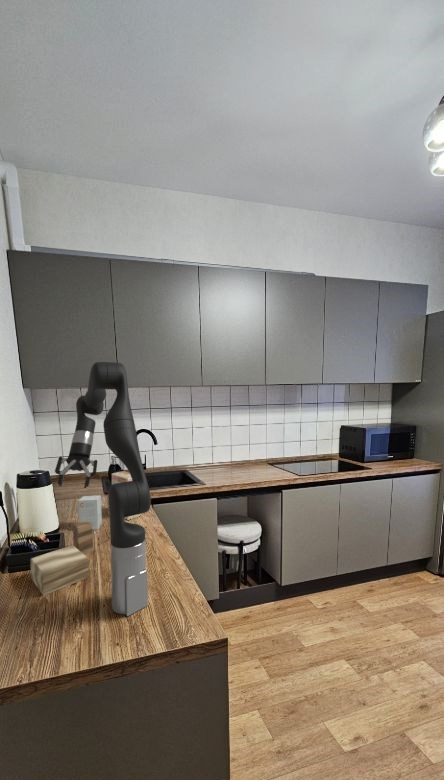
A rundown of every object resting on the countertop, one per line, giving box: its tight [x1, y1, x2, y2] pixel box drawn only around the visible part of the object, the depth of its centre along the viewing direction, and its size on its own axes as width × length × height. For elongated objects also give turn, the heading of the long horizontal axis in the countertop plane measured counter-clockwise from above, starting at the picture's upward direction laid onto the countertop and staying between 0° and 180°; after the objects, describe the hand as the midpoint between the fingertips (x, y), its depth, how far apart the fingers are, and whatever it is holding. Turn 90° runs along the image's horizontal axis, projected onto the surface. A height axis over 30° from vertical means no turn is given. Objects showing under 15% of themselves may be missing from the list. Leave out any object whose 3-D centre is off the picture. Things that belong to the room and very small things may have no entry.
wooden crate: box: [30, 544, 91, 596], centre depth 103 cm, size 14×14×6 cm
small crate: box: [72, 521, 94, 555], centre depth 120 cm, size 5×5×10 cm
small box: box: [77, 495, 103, 531], centre depth 142 cm, size 8×6×13 cm
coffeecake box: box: [111, 470, 142, 521], centre depth 156 cm, size 15×7×20 cm, turn 46°
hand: (72, 486), depth 120 cm, fingers open, 8 cm apart
